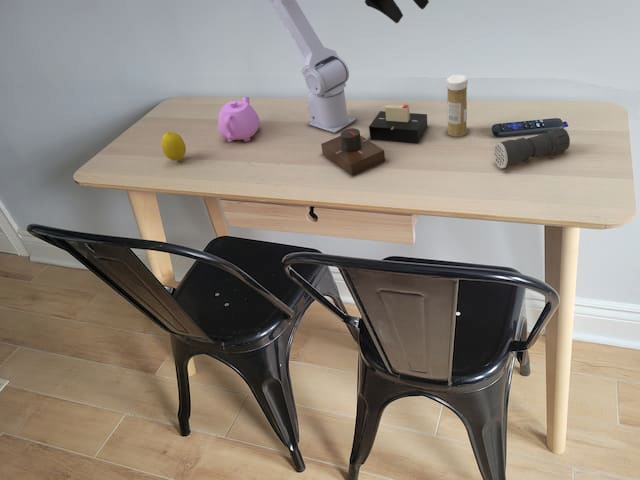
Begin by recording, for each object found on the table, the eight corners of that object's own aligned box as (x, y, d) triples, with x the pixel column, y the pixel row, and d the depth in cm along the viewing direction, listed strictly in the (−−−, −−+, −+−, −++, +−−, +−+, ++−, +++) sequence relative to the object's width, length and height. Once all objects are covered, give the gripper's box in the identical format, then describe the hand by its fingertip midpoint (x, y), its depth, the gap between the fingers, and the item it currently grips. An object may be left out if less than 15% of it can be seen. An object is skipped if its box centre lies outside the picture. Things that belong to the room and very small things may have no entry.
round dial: (338, 146, 132) (336, 131, 130) (354, 139, 134) (352, 124, 131) (349, 153, 129) (347, 138, 127) (365, 146, 131) (363, 131, 128)
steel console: (369, 141, 139) (367, 127, 136) (382, 122, 145) (381, 108, 143) (416, 145, 134) (416, 131, 132) (428, 125, 141) (428, 111, 138)
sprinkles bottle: (471, 132, 135) (472, 77, 127) (456, 139, 134) (456, 84, 125) (457, 126, 139) (457, 72, 130) (443, 133, 137) (442, 78, 128)
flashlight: (556, 143, 127) (559, 121, 123) (570, 155, 123) (574, 132, 119) (492, 161, 125) (493, 138, 121) (504, 172, 121) (506, 150, 117)
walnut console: (322, 155, 136) (320, 143, 134) (354, 141, 139) (352, 129, 137) (352, 176, 128) (350, 164, 125) (385, 161, 131) (384, 149, 128)
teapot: (214, 148, 146) (203, 114, 140) (235, 120, 157) (226, 87, 151) (251, 148, 143) (242, 113, 137) (271, 119, 154) (263, 86, 148)
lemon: (193, 155, 144) (183, 126, 139) (182, 167, 141) (172, 138, 135) (175, 154, 146) (164, 126, 141) (163, 166, 142) (152, 137, 137)
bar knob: (386, 120, 138) (384, 106, 135) (388, 117, 139) (387, 103, 136) (408, 122, 136) (407, 107, 133) (410, 119, 137) (409, 104, 134)
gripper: (351, -48, 104) (396, 12, 105) (404, -72, 111) (447, -15, 111) (338, -21, 111) (380, 36, 111) (389, -44, 117) (429, 9, 117)
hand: (412, 12), depth 111 cm, fingers open, 7 cm apart
